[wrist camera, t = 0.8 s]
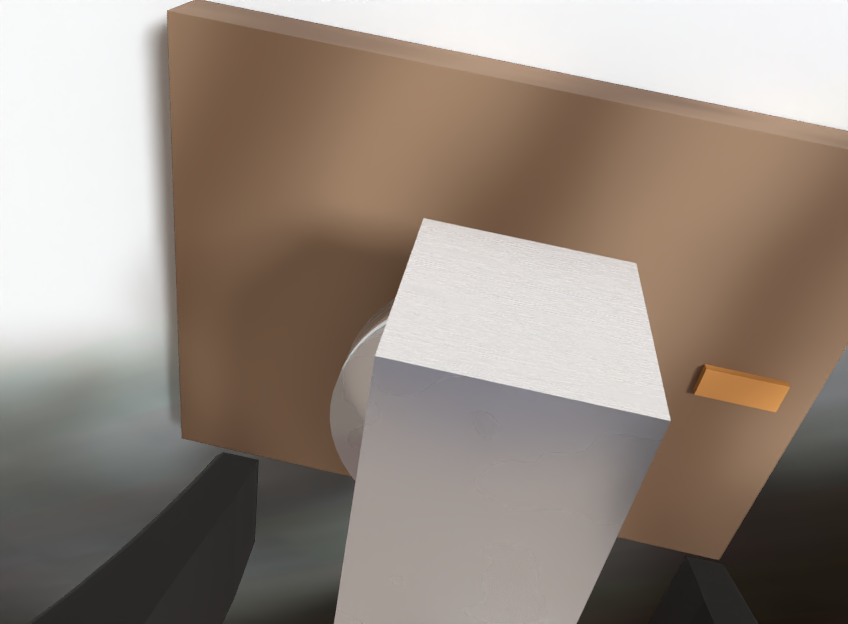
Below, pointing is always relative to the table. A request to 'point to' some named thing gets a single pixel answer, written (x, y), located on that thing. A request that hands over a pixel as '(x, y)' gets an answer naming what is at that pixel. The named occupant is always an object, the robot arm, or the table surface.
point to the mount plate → (502, 214)
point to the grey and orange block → (494, 432)
